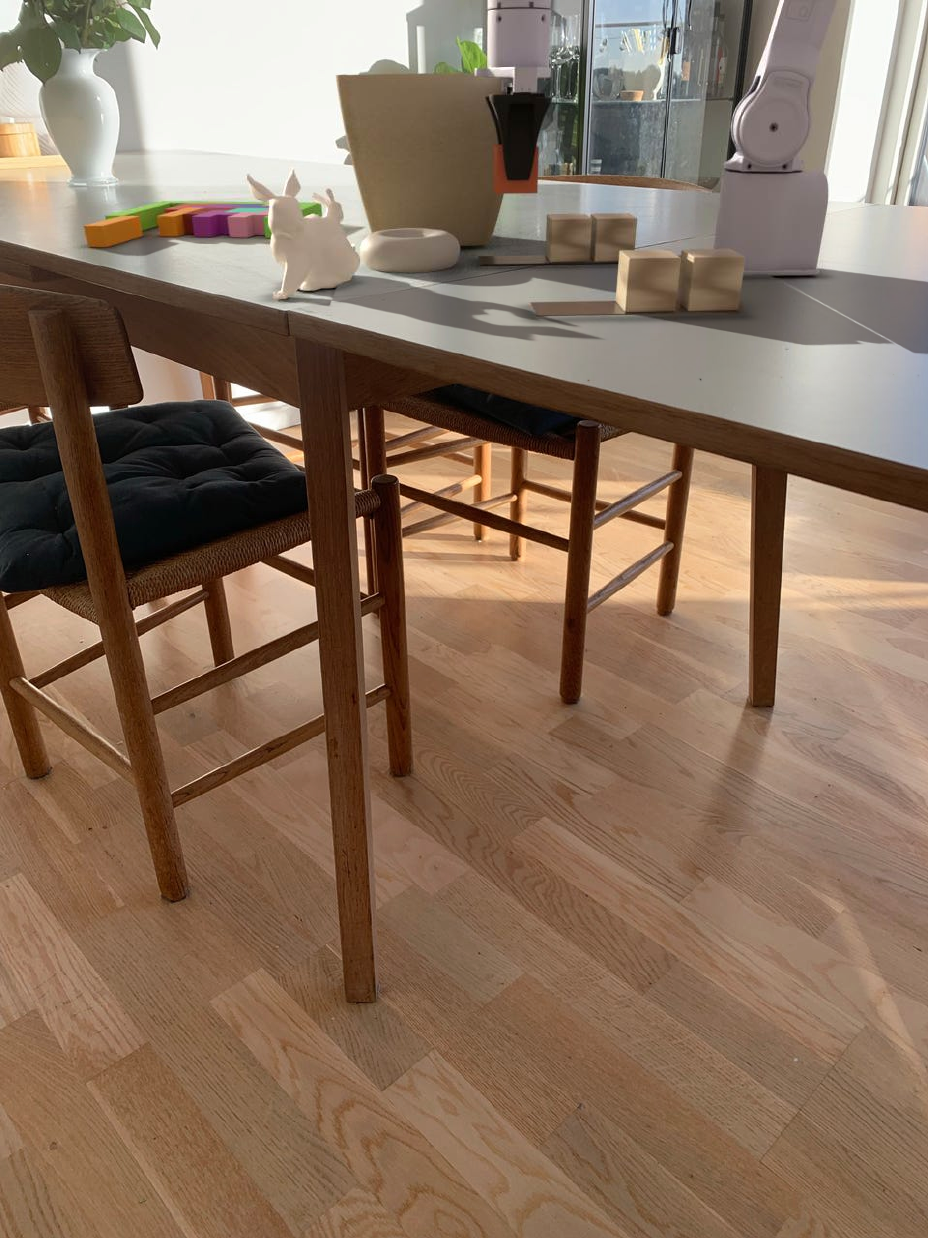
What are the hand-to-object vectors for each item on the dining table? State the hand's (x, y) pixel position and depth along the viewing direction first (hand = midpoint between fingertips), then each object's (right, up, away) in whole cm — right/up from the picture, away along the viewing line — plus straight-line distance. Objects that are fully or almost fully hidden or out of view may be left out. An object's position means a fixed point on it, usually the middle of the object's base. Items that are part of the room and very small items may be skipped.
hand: (515, 177), depth 89 cm
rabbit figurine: (-20, -12, -5) cm, 24 cm away
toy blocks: (-38, +5, +26) cm, 46 cm away
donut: (-10, -8, +2) cm, 13 cm away
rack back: (+4, -7, +5) cm, 9 cm away
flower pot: (-9, +1, +18) cm, 20 cm away
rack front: (+8, -18, -16) cm, 26 cm away
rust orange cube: (0, -1, +1) cm, 1 cm away
